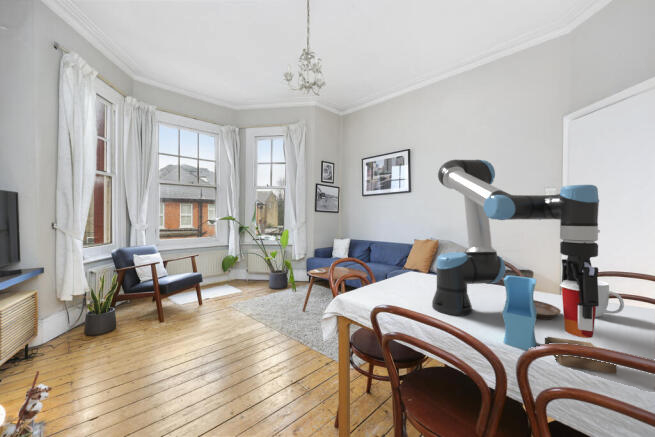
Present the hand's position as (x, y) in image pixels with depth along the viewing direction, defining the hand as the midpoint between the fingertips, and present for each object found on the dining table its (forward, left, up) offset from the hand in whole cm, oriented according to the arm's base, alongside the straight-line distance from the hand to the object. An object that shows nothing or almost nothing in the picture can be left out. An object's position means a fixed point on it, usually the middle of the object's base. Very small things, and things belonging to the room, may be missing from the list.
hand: (578, 324), depth 72 cm
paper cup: (0, 0, -3) cm, 3 cm away
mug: (+21, +42, -10) cm, 48 cm away
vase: (-12, +5, -10) cm, 16 cm away
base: (0, 0, -10) cm, 10 cm away
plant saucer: (0, +37, -10) cm, 38 cm away
